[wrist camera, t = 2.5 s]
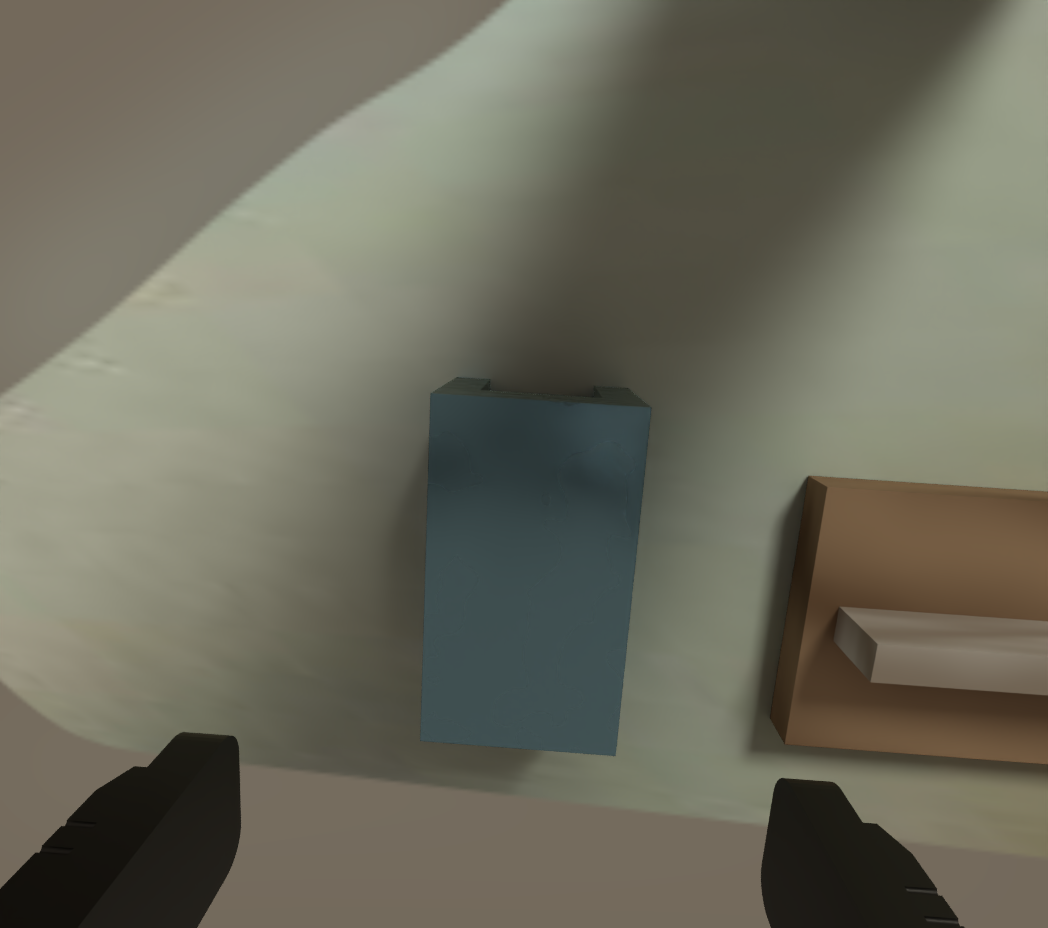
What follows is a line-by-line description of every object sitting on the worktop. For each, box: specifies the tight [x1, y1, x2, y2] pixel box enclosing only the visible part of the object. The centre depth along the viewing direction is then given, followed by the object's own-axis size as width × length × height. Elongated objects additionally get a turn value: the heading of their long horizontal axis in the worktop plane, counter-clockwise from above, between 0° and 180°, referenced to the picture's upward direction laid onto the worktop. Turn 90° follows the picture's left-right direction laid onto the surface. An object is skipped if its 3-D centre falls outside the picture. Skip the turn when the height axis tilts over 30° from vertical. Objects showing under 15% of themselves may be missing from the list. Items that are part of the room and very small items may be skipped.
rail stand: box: [770, 476, 1048, 764], centre depth 20 cm, size 9×12×4 cm
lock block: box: [420, 377, 651, 756], centre depth 20 cm, size 10×6×5 cm, turn 177°
